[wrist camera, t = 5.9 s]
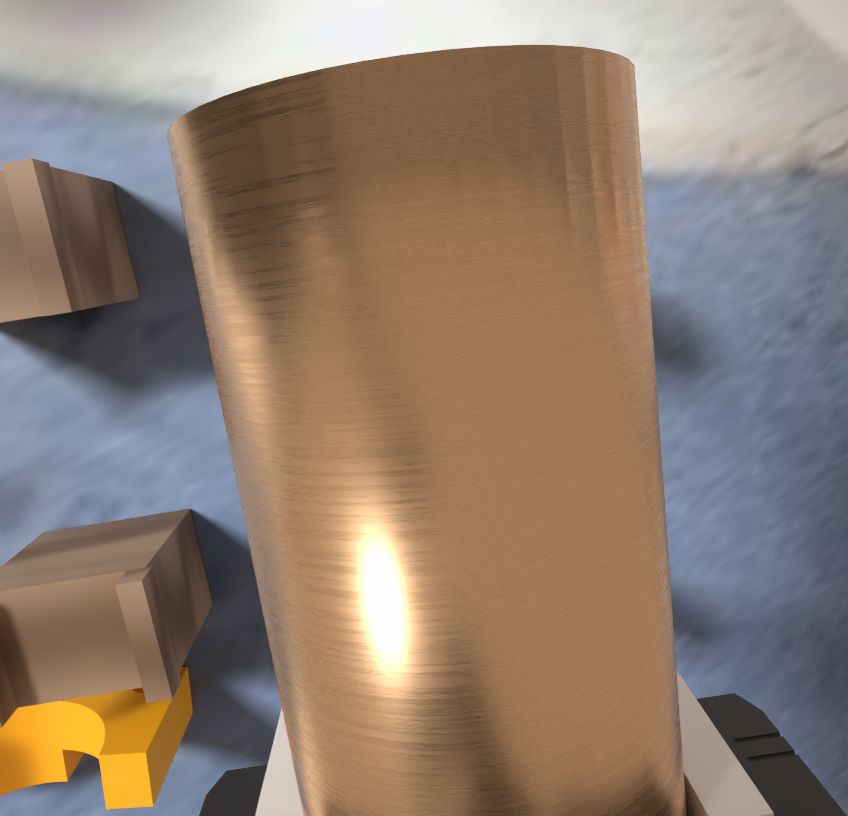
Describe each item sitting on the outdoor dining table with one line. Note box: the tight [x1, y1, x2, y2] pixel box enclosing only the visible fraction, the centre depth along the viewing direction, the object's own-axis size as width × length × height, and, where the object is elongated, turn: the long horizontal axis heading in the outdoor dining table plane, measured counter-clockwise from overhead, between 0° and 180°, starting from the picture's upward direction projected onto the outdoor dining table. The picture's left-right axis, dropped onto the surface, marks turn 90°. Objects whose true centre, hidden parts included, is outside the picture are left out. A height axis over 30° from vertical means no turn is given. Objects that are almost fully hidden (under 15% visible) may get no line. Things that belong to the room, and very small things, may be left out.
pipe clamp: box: [0, 667, 193, 809], centre depth 33 cm, size 12×4×6 cm, turn 92°
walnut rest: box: [0, 159, 213, 727], centre depth 29 cm, size 20×8×8 cm, turn 9°
